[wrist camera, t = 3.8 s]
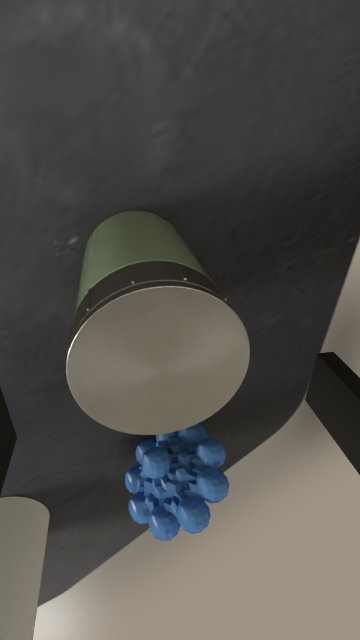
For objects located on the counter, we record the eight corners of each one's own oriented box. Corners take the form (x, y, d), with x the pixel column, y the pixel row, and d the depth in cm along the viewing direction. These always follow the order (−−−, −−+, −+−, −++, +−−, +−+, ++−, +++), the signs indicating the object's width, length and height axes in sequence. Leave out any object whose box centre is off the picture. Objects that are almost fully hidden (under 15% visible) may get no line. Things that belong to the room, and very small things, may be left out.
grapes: (182, 376, 34) (215, 481, 24) (217, 409, 38) (259, 513, 28) (98, 437, 36) (96, 558, 26) (138, 463, 40) (150, 579, 30)
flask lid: (34, 319, 16) (21, 355, 14) (185, 226, 15) (201, 246, 13) (131, 417, 21) (135, 458, 18) (252, 348, 20) (274, 382, 17)
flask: (60, 247, 26) (26, 346, 14) (153, 188, 25) (196, 242, 13) (122, 324, 30) (134, 447, 19) (203, 276, 29) (267, 373, 18)
